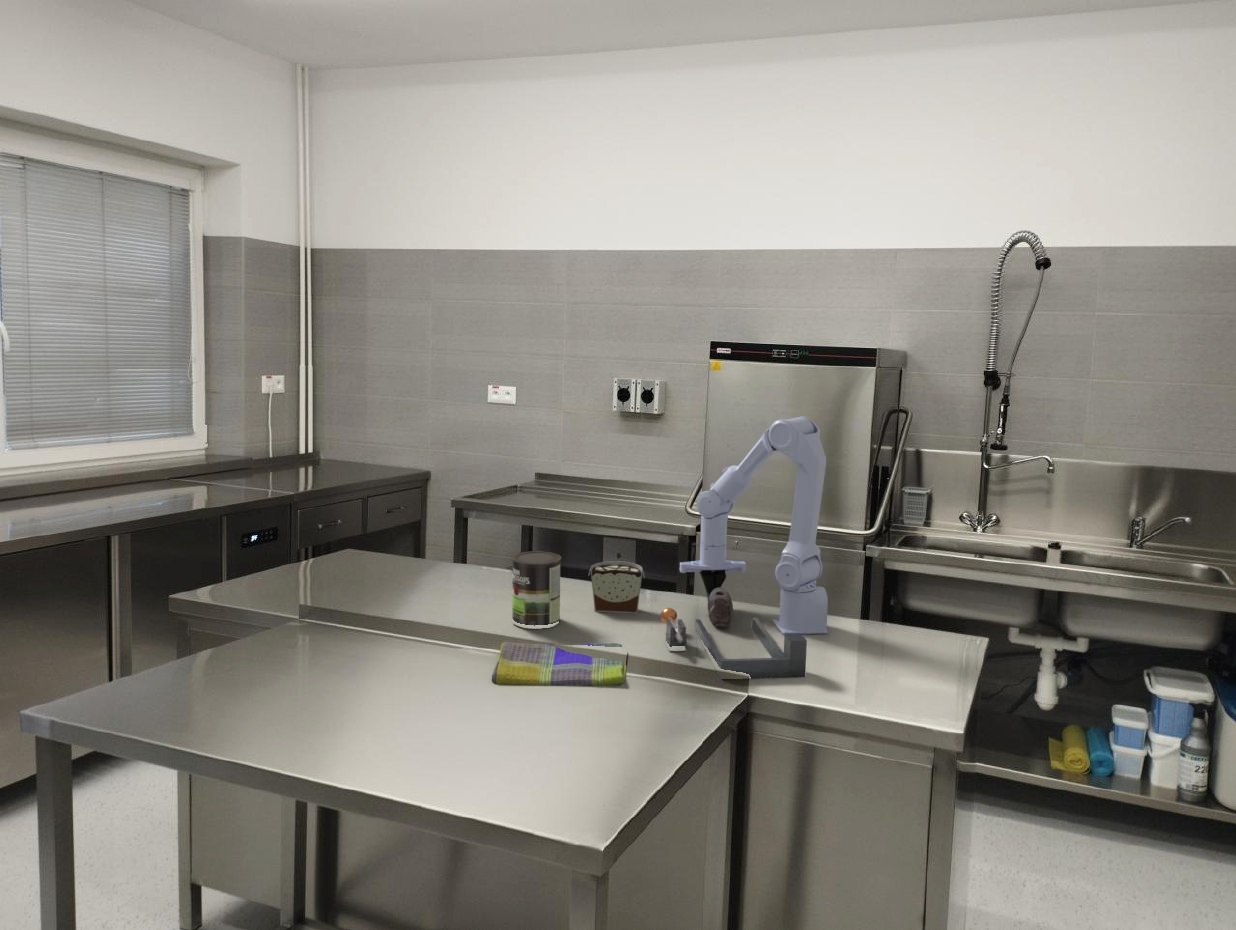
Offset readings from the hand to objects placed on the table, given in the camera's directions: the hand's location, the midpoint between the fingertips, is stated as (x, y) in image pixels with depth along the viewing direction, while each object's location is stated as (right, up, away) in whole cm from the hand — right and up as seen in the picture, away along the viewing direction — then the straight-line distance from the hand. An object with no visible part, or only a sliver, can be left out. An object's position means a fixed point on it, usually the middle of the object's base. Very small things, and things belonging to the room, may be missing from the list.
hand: (711, 602), depth 211 cm
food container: (-21, -1, -1) cm, 21 cm away
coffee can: (-38, -3, -11) cm, 40 cm away
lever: (-10, -3, -22) cm, 24 cm away
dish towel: (-32, -7, -35) cm, 48 cm away
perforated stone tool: (+1, -3, -8) cm, 9 cm away
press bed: (+1, -6, -28) cm, 28 cm away
